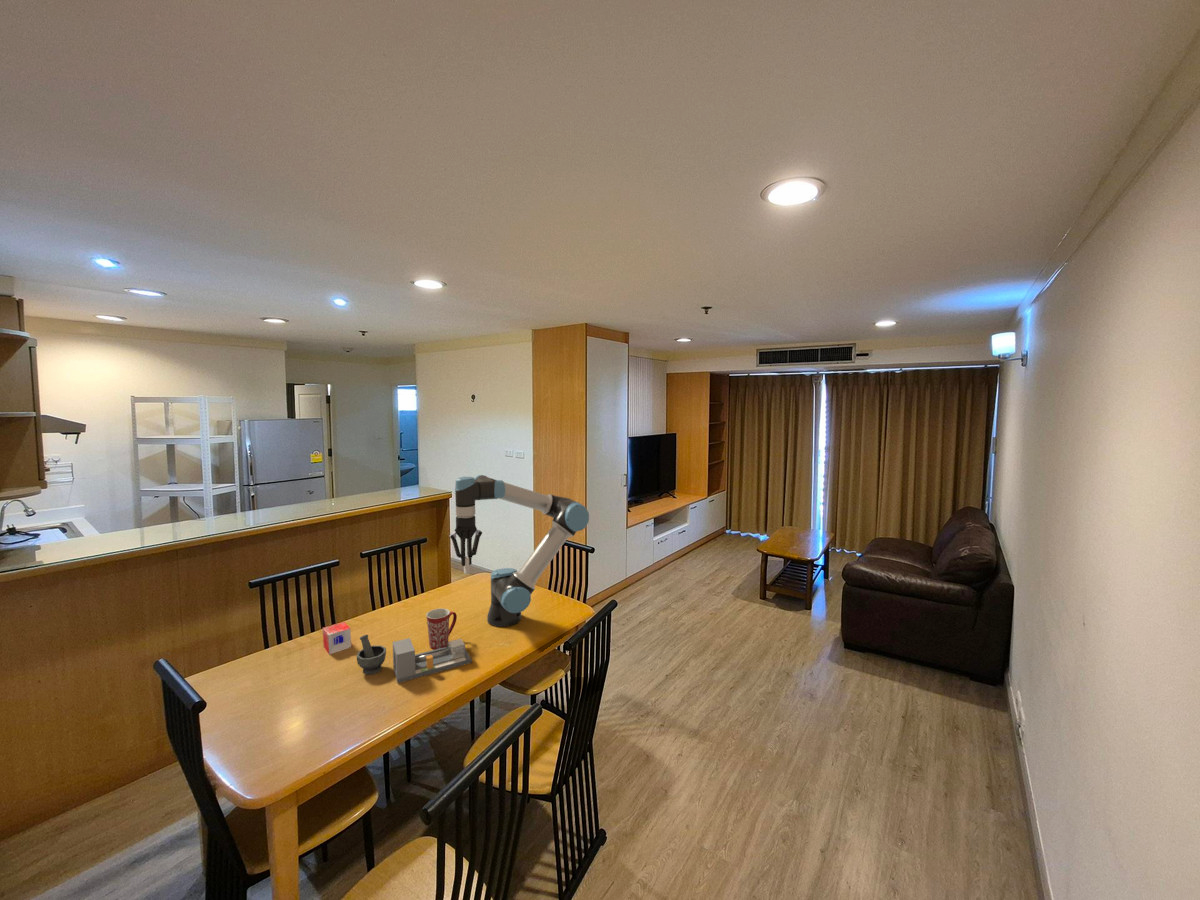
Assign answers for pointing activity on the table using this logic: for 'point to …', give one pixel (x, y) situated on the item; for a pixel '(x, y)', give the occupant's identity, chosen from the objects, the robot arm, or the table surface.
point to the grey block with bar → (448, 651)
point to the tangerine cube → (429, 662)
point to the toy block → (336, 637)
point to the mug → (439, 627)
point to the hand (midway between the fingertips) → (466, 572)
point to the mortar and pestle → (370, 657)
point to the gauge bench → (410, 669)
